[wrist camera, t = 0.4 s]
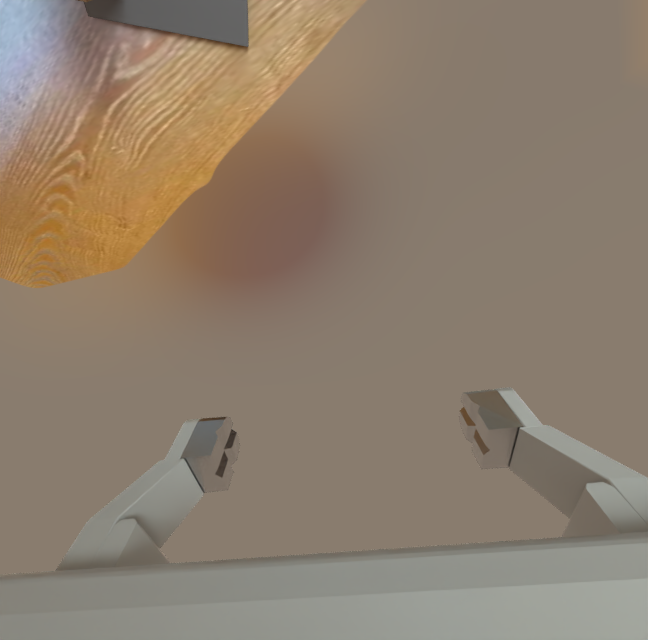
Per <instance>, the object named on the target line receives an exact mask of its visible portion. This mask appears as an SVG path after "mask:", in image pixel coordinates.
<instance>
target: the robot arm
mask: <svg viewBox="0 0 648 640" xmlns="http://www.w3.org/2000/svg"><path fill="white" fill-rule="evenodd" d="M461 402H462V404H463V406H464V407H463V408H462V409H461V410H460V416H459V419H460V425H461V429H462V431H463V434H464V436H465V438H466V439H467V440H468V441H470V442H471V443H473V447H472V452H473V454H474V456H475V458H476V460H477V462H478V464H479V466H480V468H481V469H490V468H508V467H509V469H510V470H511V471H513V473H515V474H516V475H517V476H518V477H520V478H521V479H522V480H523V481H524V482H526V483H527V484H528V485H529V486H530V487H532V488H533V489H534V490H535V491H537V492H538V493H539V494H540V495H541V496H543V497H544V498H545V499H546V500H548V501H549V502H550V503H551V504H552V505H554V506H555V507H556V508H557V509H558V510H560V511H561V512H562V513H563V514H565V515H566V516H567V517H568V518H569V519H570V520H569V522H568V525H567V526H566V529H565V531H564V533H563V535H562V537H558V538H543V539H529V540H514V541H499V542H484V543H469V544H453V545H438V546H425V547H424V546H423V547H408V548H394V549H378V550H362V551H348V552H335V553H334V552H333V553H318V554H303V555H289V556H274V557H258V558H243V559H229V560H214V561H199V562H185V563H169V560H168V558H167V557H166V556H165V555H164V554H163V552H162V551H161V550H160V548H161V547H162V546H163V544H164V543H165V542H166V541H167V539H168V538H169V537H170V536H171V534H172V533H173V532H174V531H175V529H176V528H177V527H178V526H179V524H180V523H181V522H182V521H183V520H184V518H185V517H186V516H187V515H188V513H189V512H190V511H191V510H192V509H193V507H194V506H195V505H196V504H197V502H198V501H199V500H200V499H201V497H202V496H203V495H204V493H207V492H215V491H224V490H228V489H229V486H230V482H231V479H232V475H233V469H232V467H231V465H232V464H233V463H234V462H235V461H236V460H237V458H238V454H239V445H240V443H239V437H238V435H237V432H235V431H234V430H232V426H233V422H232V420H231V418H230V417H217V418H203V419H193V420H187V421H186V422H185V423H184V424H183V426H182V428H181V429H180V432H179V433H178V435H177V437H176V439H175V441H174V443H173V444H172V446H171V448H170V450H169V452H168V454H167V456H166V458H165V460H163V461H159V462H158V463H157V464H155V465H154V466H153V467H152V468H151V469H149V471H147V472H146V473H145V474H143V475H142V476H141V477H140V478H139V479H138V480H136V481H135V482H134V483H133V484H132V485H130V486H129V487H128V488H127V489H125V490H124V491H123V492H122V493H121V494H119V496H117V497H116V498H115V499H113V500H112V501H111V502H110V503H109V504H107V505H106V506H105V507H104V508H103V509H101V510H100V511H99V512H98V513H97V514H95V515H94V516H93V517H92V518H91V519H89V520H88V521H87V523H86V524H85V526H84V528H83V529H82V531H81V532H80V534H79V535H78V537H77V538H76V540H75V541H74V543H73V544H72V546H71V547H70V549H69V551H68V552H67V554H66V555H65V557H64V558H63V560H62V561H61V563H60V564H59V566H58V568H57V569H56V570H55V571H50V572H33V573H19V574H4V575H0V640H648V478H647V477H645V476H643V475H641V474H639V473H637V472H635V471H634V470H632V469H630V468H628V467H626V466H624V465H622V464H620V463H619V462H617V461H615V460H613V459H611V458H609V457H607V456H605V455H604V454H602V453H600V452H598V451H596V450H594V449H592V448H590V447H588V446H586V445H584V444H583V443H581V442H579V441H577V440H575V439H573V438H571V437H569V436H567V435H566V434H564V433H562V432H560V431H558V430H556V429H554V428H553V427H551V426H549V425H542V424H541V422H540V421H539V420H538V419H537V418H536V416H535V415H534V414H533V413H532V411H531V410H530V409H529V408H528V407H527V406H526V404H525V403H524V402H523V401H522V399H521V398H520V397H519V396H518V395H517V393H516V392H515V391H514V390H513V389H512V388H501V389H494V390H482V391H474V392H465V393H463V394H462V397H461Z"/></svg>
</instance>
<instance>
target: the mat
mask: <svg viewBox="0 0 648 640" xmlns="http://www.w3.org/2000/svg"><path fill="white" fill-rule="evenodd" d="M84 3H85V7H86V10H87V13H88V16H90V17H95V18H100V19H106V20H111V21H116V22H121V23H126V24H132V25H137V26H142V27H147V28H153V29H158V30H163V31H168V32H174V33H179V34H184V35H189V36H194V37H200V38H205V39H210V40H215V41H221V42H226V43H231V44H236V45H242V46H247V47H248V6H247V0H92V1H89V2H84Z"/></svg>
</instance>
